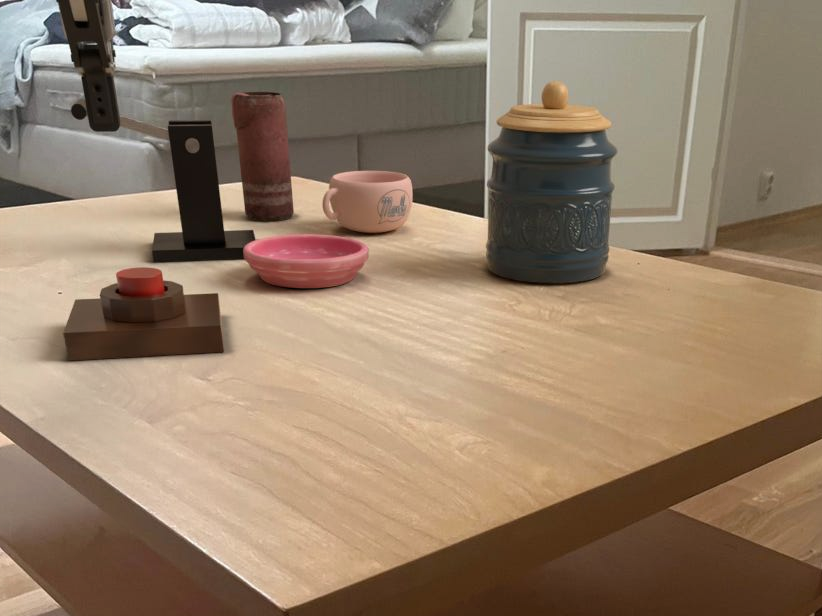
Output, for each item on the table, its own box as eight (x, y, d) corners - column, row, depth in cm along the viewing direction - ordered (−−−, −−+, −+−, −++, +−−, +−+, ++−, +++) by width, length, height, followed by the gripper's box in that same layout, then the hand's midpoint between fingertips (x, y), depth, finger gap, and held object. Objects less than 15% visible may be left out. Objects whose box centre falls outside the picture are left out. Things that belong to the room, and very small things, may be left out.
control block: (68, 360, 79) (57, 309, 77) (80, 325, 87) (70, 277, 85) (224, 352, 82) (217, 302, 79) (221, 318, 90) (215, 271, 88)
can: (237, 214, 129) (224, 91, 121) (285, 210, 131) (275, 89, 124) (251, 223, 124) (238, 96, 117) (300, 219, 127) (290, 94, 119)
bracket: (153, 262, 107) (132, 128, 100) (156, 244, 114) (136, 118, 107) (258, 258, 109) (245, 127, 102) (254, 240, 116) (241, 117, 109)
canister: (576, 253, 114) (588, 75, 104) (629, 280, 103) (647, 86, 94) (468, 260, 110) (470, 76, 100) (511, 289, 99) (518, 88, 90)
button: (118, 301, 81) (114, 278, 80) (120, 289, 84) (117, 268, 83) (164, 299, 81) (161, 277, 80) (165, 287, 84) (162, 266, 83)
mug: (380, 218, 128) (378, 167, 125) (429, 230, 122) (429, 178, 119) (301, 230, 122) (297, 176, 118) (349, 244, 115) (346, 188, 112)
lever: (69, 122, 100) (72, 96, 99) (74, 116, 104) (76, 91, 103) (204, 161, 105) (208, 136, 103) (203, 154, 109) (207, 130, 108)
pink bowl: (323, 258, 110) (321, 227, 108) (394, 280, 102) (393, 247, 100) (223, 275, 102) (219, 243, 101) (290, 301, 95) (287, 266, 93)
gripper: (16, -146, 73) (64, 120, 82) (-16, -166, 62) (44, 142, 72) (123, -141, 74) (159, 120, 84) (111, -160, 64) (153, 142, 73)
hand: (106, 130), depth 78 cm, fingers closed
